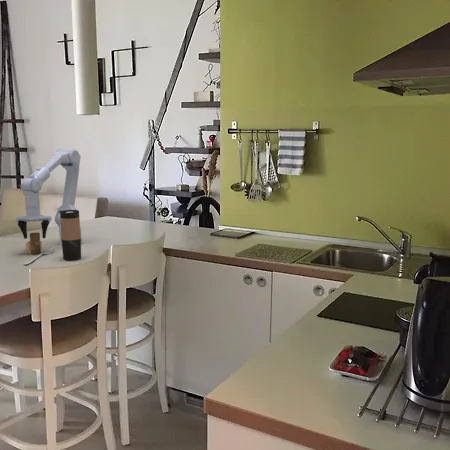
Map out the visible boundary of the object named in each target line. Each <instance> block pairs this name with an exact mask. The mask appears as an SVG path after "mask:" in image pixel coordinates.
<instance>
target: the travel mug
mask: <svg viewBox="0 0 450 450" xmlns="http://www.w3.org/2000/svg"><path fill="white" fill-rule="evenodd" d="M60 220H61V239H62V247H61V249H62V258H63V260H64V261H65V262H75V261H79V260H82V243H81V239H82V233H81V234H80V228H81V222H80V220H81V219H80V211H79V210H78V209H77V210H64V211H61V212H60Z"/></svg>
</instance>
